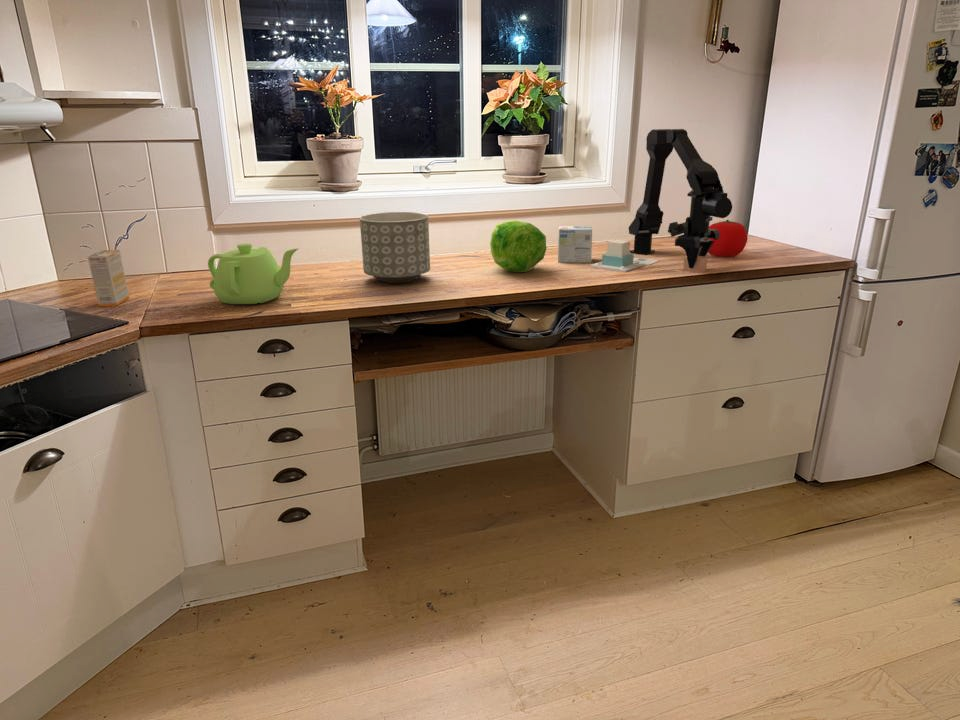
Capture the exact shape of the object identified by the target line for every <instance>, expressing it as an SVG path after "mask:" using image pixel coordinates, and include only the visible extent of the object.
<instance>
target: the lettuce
mask: <svg viewBox="0 0 960 720" xmlns="http://www.w3.org/2000/svg"><path fill="white" fill-rule="evenodd" d="M547 248H548V247H547V236H546V235H545V234H544V233H543V232H542V231H541V230H540V229H539V228H538V227H536V226H535V224H533V223H530V222H524V221H520V220H511V221H504V222H502V223H499V224H497V225H496V226H495V227H494V229H493V231H492V233H491V238H490V253H491V256H492V259H493V260H494V263H495V264H496V265H497V266H499V267H500V268H501V269H503V270H507V271H510V272H512V273H521V272H522V273H525V272H529V271H530V270H532V269H533V268H534V267H535V266H537V265H538V264H539V263H541V261H543V260H544V259H545V258H544V257H545V256H546V252H547Z"/></svg>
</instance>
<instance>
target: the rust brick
mask: <svg viewBox="0 0 960 720" xmlns="http://www.w3.org/2000/svg"><path fill="white" fill-rule="evenodd" d="M683 258H684V259H683V266H682V267H683V269H682V270H683V271H685V272H692V273H698V274H699V273H702V272H705V271H706V270H707V265H708V264H707V263H708V256H706V257H704V256H698V258H697V261H696V263H695V265H694V267H693V268H689V264H688V260H687V256H685V257H683Z"/></svg>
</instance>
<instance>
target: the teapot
mask: <svg viewBox="0 0 960 720" xmlns="http://www.w3.org/2000/svg"><path fill="white" fill-rule="evenodd" d="M252 246H253V244H251V243H239V244H238V245H236V247H237V249H234V250H230V251H227V252H224V253H216V254H214V255H211V256H210V257H209V259H208V261H207V266H208V269H209V272H210V274H211V277H212V279H211V280H210V281H209V287H210V288H211V290H213V291H214V295H215V296H216V297H217V299H218V300H219V301H220V302H221V303H223V304H228V305H258V304H257V303H260V304H263V303H266V302H269V301H272V300H275V299H276V298H278V297H279V296H280V295H281V293H282V292H283V290H284V287H285V284H286V283H287V281H289V278H290V274H291V261H292V257H293V255H294V253H296V252H297V251H298V250H299V249H300V248H293V249H288V250H286V251H285V252H284V253H283V257H282V261H281V262H282V263H281V268H280V265H279V264H278V262H277V260H276V258H275V257H274V256H273V253H272V252H271V251H270V250H269V249H268V248H267V247H265V246H260V247H258V248H253V247H252ZM216 259H219V260H218V263H217V266H215V260H216Z"/></svg>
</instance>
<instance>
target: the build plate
mask: <svg viewBox="0 0 960 720" xmlns="http://www.w3.org/2000/svg"><path fill="white" fill-rule="evenodd" d="M634 256H635V253H630V254H628V255H626V256H623V257H619V256H612V255H607V253H604V254H602V255H601V261H599V262H596V263H592V264H590V265H589V266H590V268H594V269H600V270H601V269H602V270H609V271H615V272H621V273H627V272H629V271H633V270H635V269H638V268H640V267H643V266H645V265H644V263H639V262H633V259H634V258H635V257H634Z"/></svg>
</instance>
